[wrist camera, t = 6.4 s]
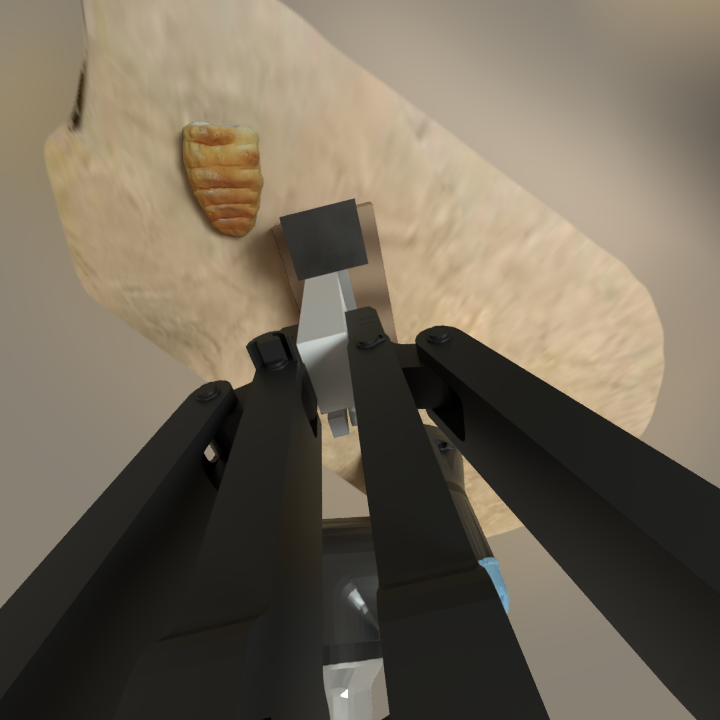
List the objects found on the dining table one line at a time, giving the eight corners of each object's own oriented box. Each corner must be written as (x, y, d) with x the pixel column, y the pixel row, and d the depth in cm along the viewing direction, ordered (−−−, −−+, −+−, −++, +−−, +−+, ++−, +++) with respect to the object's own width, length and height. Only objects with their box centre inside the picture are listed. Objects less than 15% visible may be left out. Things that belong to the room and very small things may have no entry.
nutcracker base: (400, 365, 45) (422, 423, 35) (326, 382, 45) (327, 445, 35) (369, 201, 34) (389, 217, 25) (274, 225, 35) (255, 251, 25)
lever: (397, 407, 37) (402, 420, 34) (343, 420, 37) (344, 434, 34) (353, 200, 29) (354, 198, 26) (284, 217, 29) (279, 217, 26)
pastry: (271, 233, 35) (266, 241, 32) (204, 234, 35) (191, 241, 31) (259, 123, 31) (251, 119, 27) (181, 122, 30) (163, 117, 27)
